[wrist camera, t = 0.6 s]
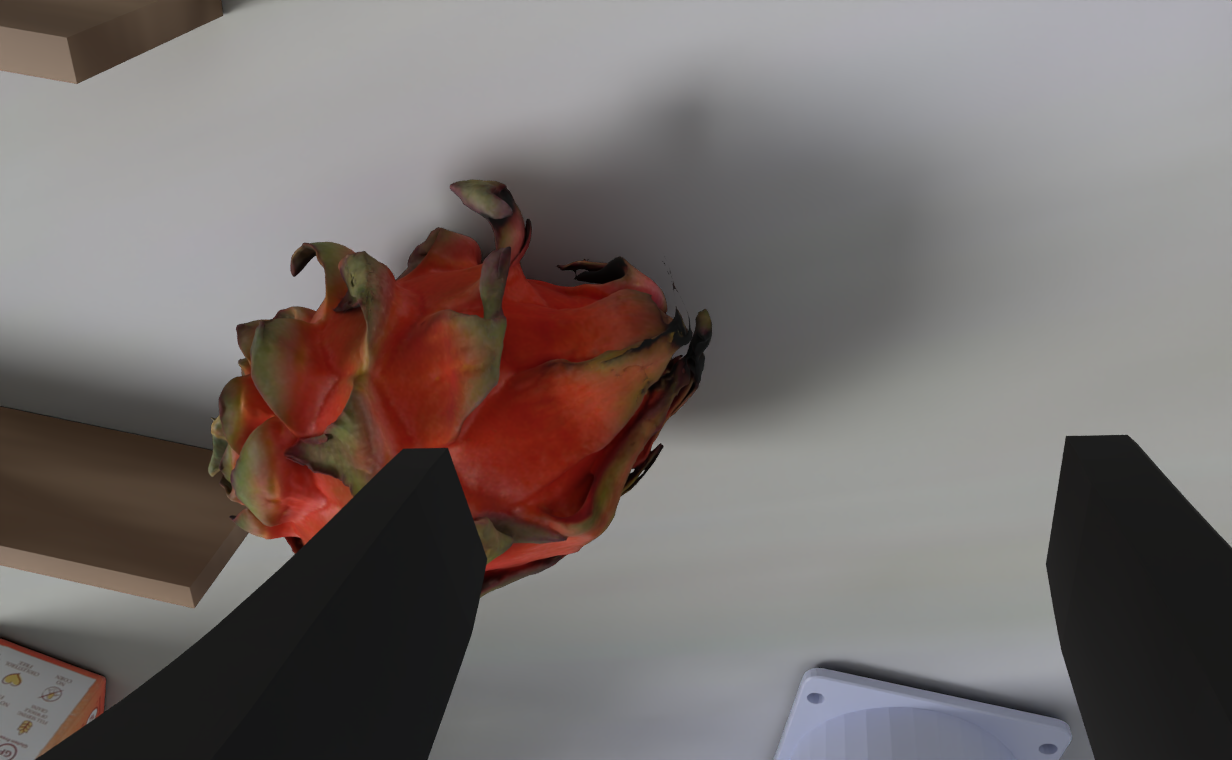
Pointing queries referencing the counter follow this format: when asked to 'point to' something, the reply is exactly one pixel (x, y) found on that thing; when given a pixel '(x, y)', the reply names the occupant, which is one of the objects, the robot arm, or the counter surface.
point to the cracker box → (43, 701)
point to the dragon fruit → (458, 389)
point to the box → (89, 455)
